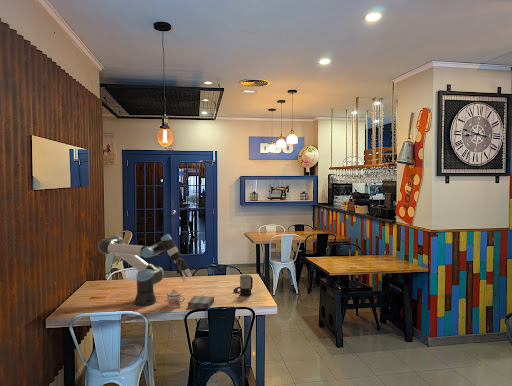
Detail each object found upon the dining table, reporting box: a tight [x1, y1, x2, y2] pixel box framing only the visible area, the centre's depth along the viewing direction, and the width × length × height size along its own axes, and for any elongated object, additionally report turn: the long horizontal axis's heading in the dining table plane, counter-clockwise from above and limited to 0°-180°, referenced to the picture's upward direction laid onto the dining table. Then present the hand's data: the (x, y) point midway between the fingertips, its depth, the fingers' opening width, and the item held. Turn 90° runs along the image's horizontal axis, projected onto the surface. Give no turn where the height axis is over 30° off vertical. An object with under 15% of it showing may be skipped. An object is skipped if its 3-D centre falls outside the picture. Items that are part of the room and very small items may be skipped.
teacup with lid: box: [166, 289, 185, 309], centre depth 266 cm, size 12×9×12 cm
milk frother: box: [233, 274, 254, 297], centre depth 294 cm, size 14×16×15 cm
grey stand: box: [187, 295, 215, 310], centre depth 268 cm, size 15×15×4 cm
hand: (187, 278), depth 280 cm, fingers open, 13 cm apart
